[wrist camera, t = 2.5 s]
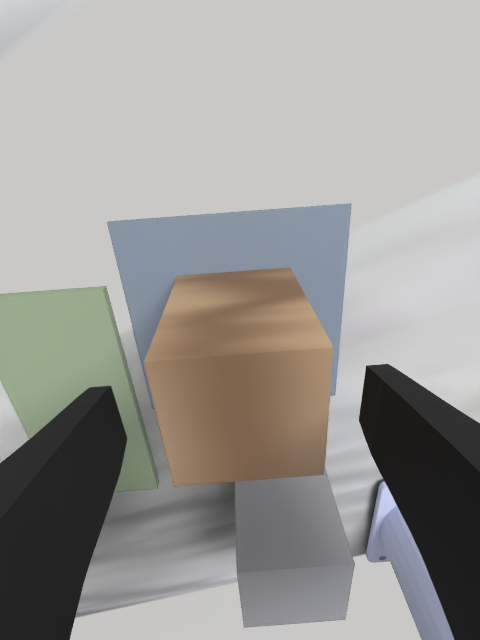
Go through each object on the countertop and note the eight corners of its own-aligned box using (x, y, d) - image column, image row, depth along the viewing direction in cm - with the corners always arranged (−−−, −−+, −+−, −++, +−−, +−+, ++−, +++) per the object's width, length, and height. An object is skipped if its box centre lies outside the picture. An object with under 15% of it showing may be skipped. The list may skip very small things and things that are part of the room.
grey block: (316, 440, 18) (354, 563, 13) (313, 494, 20) (345, 619, 15) (233, 447, 18) (236, 573, 13) (239, 500, 20) (244, 627, 15)
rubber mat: (105, 285, 13) (102, 289, 13) (158, 482, 19) (157, 488, 18) (-33, 296, 13) (-40, 300, 13) (61, 489, 19) (58, 496, 18)
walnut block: (290, 267, 13) (333, 347, 8) (289, 361, 15) (324, 474, 10) (177, 275, 13) (144, 361, 8) (192, 368, 15) (173, 486, 10)
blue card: (350, 203, 12) (351, 203, 12) (334, 393, 16) (335, 395, 16) (107, 221, 12) (106, 222, 12) (153, 407, 16) (152, 409, 16)
